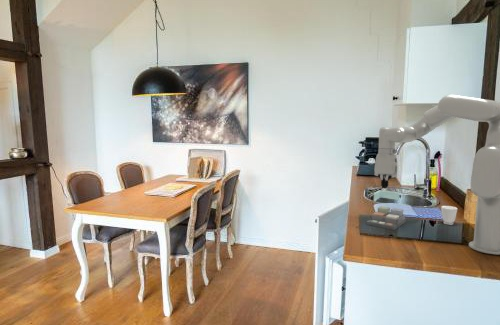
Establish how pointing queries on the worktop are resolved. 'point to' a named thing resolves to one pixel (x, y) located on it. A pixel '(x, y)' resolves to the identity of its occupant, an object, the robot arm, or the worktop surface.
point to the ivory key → (392, 216)
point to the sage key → (384, 209)
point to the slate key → (397, 212)
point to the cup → (448, 214)
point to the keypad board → (386, 222)
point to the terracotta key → (379, 214)
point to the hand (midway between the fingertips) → (384, 187)
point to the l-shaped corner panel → (386, 195)
